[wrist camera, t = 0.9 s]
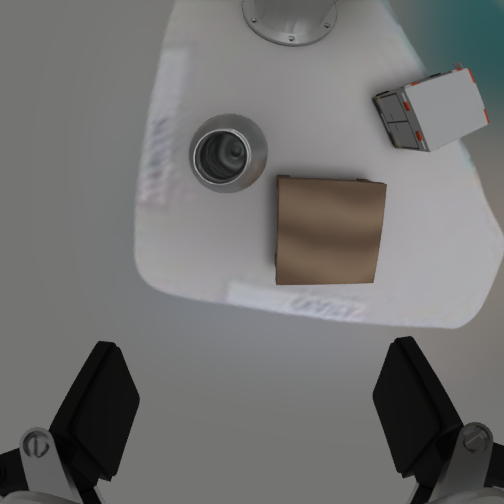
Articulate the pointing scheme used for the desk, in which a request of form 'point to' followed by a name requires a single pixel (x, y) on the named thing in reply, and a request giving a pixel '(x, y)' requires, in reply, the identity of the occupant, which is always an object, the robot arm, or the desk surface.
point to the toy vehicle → (433, 110)
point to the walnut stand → (328, 230)
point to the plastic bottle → (228, 153)
